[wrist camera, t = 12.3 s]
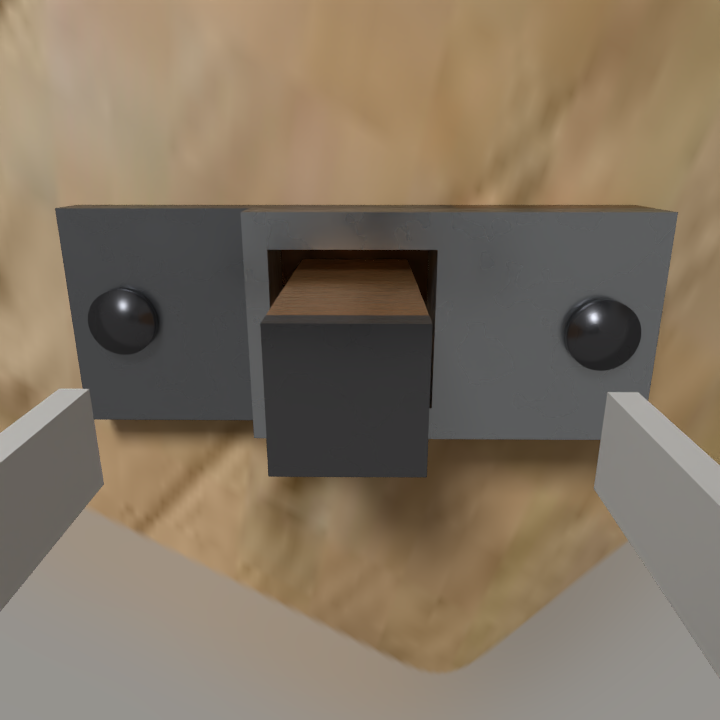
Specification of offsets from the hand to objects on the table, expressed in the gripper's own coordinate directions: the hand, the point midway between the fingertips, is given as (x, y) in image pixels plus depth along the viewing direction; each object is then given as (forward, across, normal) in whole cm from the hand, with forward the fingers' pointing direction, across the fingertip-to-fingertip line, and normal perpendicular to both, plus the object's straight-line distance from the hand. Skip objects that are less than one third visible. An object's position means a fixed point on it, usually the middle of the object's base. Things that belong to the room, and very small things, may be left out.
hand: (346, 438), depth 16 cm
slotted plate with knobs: (+15, 0, 0) cm, 15 cm away
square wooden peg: (+15, 0, 0) cm, 15 cm away
